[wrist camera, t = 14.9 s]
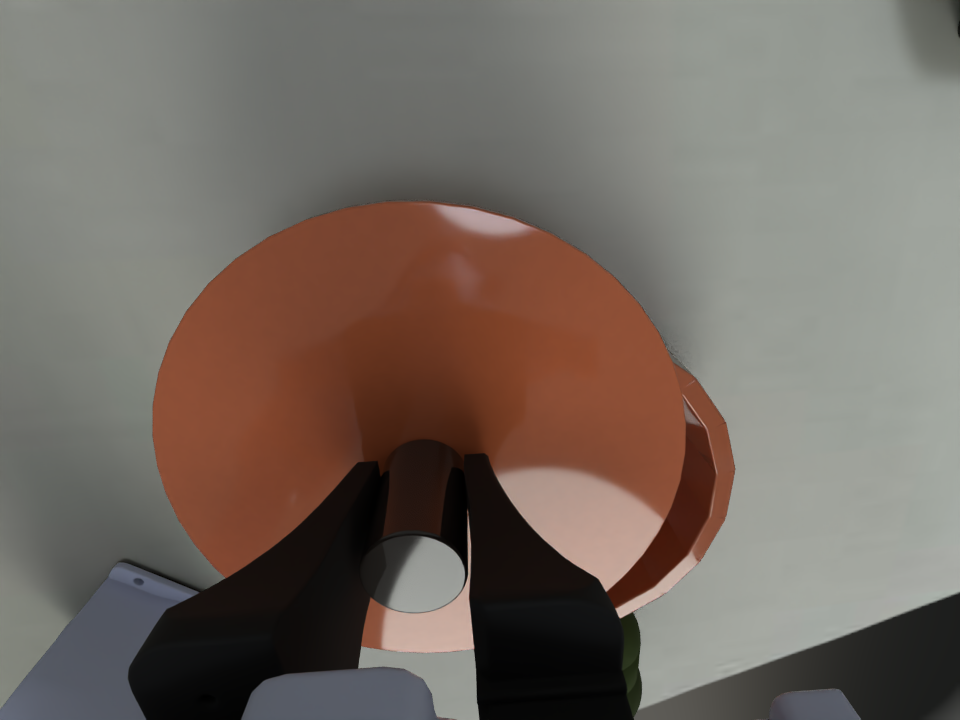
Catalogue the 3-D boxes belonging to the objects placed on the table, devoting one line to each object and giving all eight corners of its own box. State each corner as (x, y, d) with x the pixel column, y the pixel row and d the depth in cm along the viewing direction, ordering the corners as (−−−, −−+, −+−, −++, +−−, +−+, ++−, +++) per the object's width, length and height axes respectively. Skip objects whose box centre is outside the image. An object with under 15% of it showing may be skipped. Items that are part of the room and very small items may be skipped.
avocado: (614, 658, 32) (655, 741, 28) (539, 678, 31) (570, 767, 27) (621, 560, 29) (669, 636, 24) (538, 579, 28) (572, 661, 23)
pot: (324, 478, 26) (294, 550, 21) (491, 223, 21) (499, 244, 16) (560, 594, 29) (578, 676, 25) (749, 399, 24) (813, 456, 20)
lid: (102, 516, 17) (-35, 656, 12) (311, 61, 12) (214, 8, 7) (494, 678, 21) (503, 831, 16) (778, 385, 16) (909, 486, 11)
